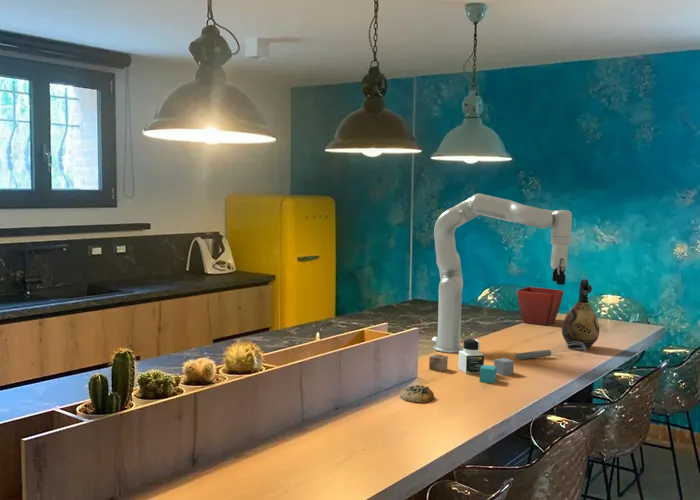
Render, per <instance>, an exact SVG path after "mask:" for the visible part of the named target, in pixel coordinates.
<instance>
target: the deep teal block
mask: <svg viewBox="0 0 700 500" xmlns="http://www.w3.org/2000/svg"><path fill="white" fill-rule="evenodd" d="M496 381H497V373H496V366H494V365H488V364H484V365H482V366H481V367H480V373H479V382H480V383H486V384H487V383H488V384H494V383H495V382H496Z"/></svg>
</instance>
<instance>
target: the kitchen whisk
mask: <svg viewBox="0 0 700 500" xmlns="http://www.w3.org/2000/svg"><path fill="white" fill-rule="evenodd" d="M569 343H570V342H569ZM579 343H580V342H579ZM565 344H566V345H565ZM581 344H582V345H583V343H581ZM569 345H570V344H569ZM573 345H577V344H575V343H573ZM566 346H568V345H567V342H566V343H562V344H560V345H559V346H558V347H557V346H556V347H553V348H552V349H541V350H536V351H535V350H534V351H527V352H519V353H515V358H514V357H513V356H514V355H511V356H512V359H513V361H517V360H518V361H519V360H520V361H523V360H527V359H528V360H529V359H537V358H546V357H551V356H555V357H561V358H562V356H566V355H568V356H578V357H581V355H584V354H585V353H586V352H587V351H588V350H585V351H583V352H581V353H577V354H576V353H575V354H572V353H571V354H561V353H563V352H566V350H565V349H564V350H561V353H558V350H557V349H561V348H563V347H566ZM580 346H581V345H580ZM583 346H584V345H583ZM584 348H585V349H586V347H584ZM584 348H583V349H584ZM576 349H578V348H576ZM554 350H556V351H554ZM579 350H580V349H578V350H577V351H579ZM568 351H570V352H573V351H574V350H573V349H569V348H568ZM580 351H581V350H580ZM579 355H580V356H579Z"/></svg>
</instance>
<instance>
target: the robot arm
mask: <svg viewBox="0 0 700 500" xmlns="http://www.w3.org/2000/svg"><path fill="white" fill-rule="evenodd" d="M478 216H483V217H489V218H492V219H497V220H502V221H505V222H509V223H518V224H522V225H525V226H530V227H533V228H539V229H547V228H549V227H551V236H550V244H551V245H552V248H551V257H550V267H551V268H552V282H556V285H558V286H559V285H561V286H565V285H566V269H567V265H568V251H569V250H568V249H569V248H568V246H570V245H571V237H572V235H571V234H572V219H573V214H572V212H571V210H567V209H566V210H565V209H559V210H557V209H555V210H550V209H544V208H538V207H534V206H531V205H530V206H529V205H525V204H523V203H519V202H517V201H513V200H511V199H506V198H501V197H497V196H492V195H489V194H488V195H487V194H483V193H476V194H475V193H474V194H473V195H472V196H470V197H469V198H467V199H466V200H464V201H462V202H460V203H458V204H457V205H454V206H452V207H450V208H448V209H447V210H445V211H444V212H443V213H441V214H440V215H439V216H438V218H437V219H436V221H435V223H434V224H435V225H434V226H433V227H434V228H433V238H434V249H435V250H434V251H435V255H436V256H435V258H436V260H435V261H436V262H435V263H436V265H437V268H438V272H439V277H440V279H439V280H440V281H439V284H438V306H437V307H438V308H437V309H438V310H437V311H438V314H437V315H438V316H437V318H438V319H437V336H433V338H431V342H434V343H435V344H434V345H433V350H434V351H437V352H440V353H452V354H453V353H454V354H457V353H459V351H464V350H463V345H461V330H462V329H461V328H462V327H461V326H462V301H463V300H462V298H463V297H462V295H463V287H464V279H463V273H462V266H461V265H462V264H461V263H462V262H461V257H460V254H459V253H458V251H457V247H456V237H455V232H456V229H457V228H459V227H462V225H464V224H466V223H467V222H469V221H472V220H473V219H475V218H477V217H478Z"/></svg>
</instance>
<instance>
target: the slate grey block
mask: <svg viewBox="0 0 700 500" xmlns="http://www.w3.org/2000/svg"><path fill="white" fill-rule="evenodd" d="M493 362H494V363H493V366H496V375H497V374H498V375H500V376H503V377H504V376H509V375H513V374H514V371H515V370H514V369H515V368H514V367H515V366H514V365H515V360H514V359H513V360H511V359H509V358H507V357H501V358H494V361H493Z"/></svg>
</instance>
